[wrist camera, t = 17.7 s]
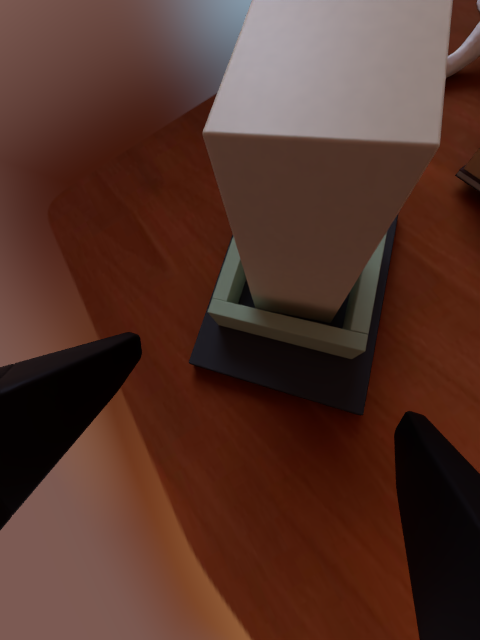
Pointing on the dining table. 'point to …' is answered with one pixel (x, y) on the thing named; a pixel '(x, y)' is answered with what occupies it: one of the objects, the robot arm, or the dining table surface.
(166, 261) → the dining table surface
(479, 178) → the book
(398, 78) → the white rectangular block
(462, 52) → the dinosaur figurine
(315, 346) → the stepped rectangular base
